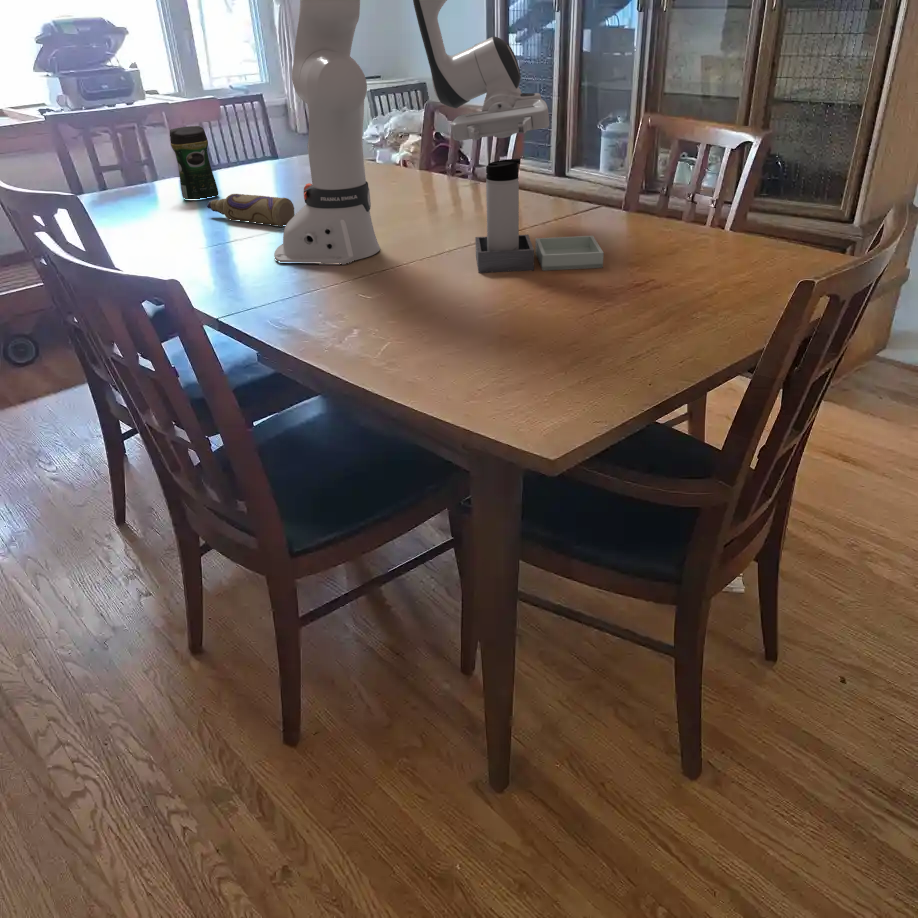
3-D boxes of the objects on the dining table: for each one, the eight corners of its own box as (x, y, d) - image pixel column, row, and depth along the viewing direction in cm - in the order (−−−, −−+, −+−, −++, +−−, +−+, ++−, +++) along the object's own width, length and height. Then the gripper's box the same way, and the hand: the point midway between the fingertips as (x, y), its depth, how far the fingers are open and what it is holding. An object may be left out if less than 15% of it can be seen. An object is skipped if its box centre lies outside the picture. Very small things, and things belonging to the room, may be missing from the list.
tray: (542, 270, 156) (542, 255, 154) (535, 252, 166) (535, 238, 164) (602, 267, 156) (603, 252, 154) (592, 249, 166) (592, 235, 164)
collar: (478, 272, 156) (478, 252, 154) (475, 256, 165) (475, 237, 163) (533, 270, 156) (534, 250, 154) (528, 253, 165) (528, 234, 163)
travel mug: (518, 268, 157) (518, 162, 147) (485, 267, 159) (483, 162, 148) (522, 258, 163) (522, 156, 152) (490, 258, 164) (488, 156, 153)
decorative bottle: (298, 222, 195) (294, 195, 191) (278, 231, 189) (273, 202, 186) (222, 212, 206) (217, 186, 203) (200, 220, 201) (195, 193, 197)
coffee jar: (214, 192, 226) (200, 122, 216) (222, 198, 220) (208, 126, 210) (179, 198, 222) (164, 127, 212) (186, 203, 216) (171, 130, 206)
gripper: (451, 106, 170) (445, 123, 159) (547, 91, 166) (547, 108, 155) (456, 136, 174) (450, 155, 163) (550, 123, 170) (550, 141, 159)
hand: (498, 132), depth 159 cm, fingers open, 8 cm apart
